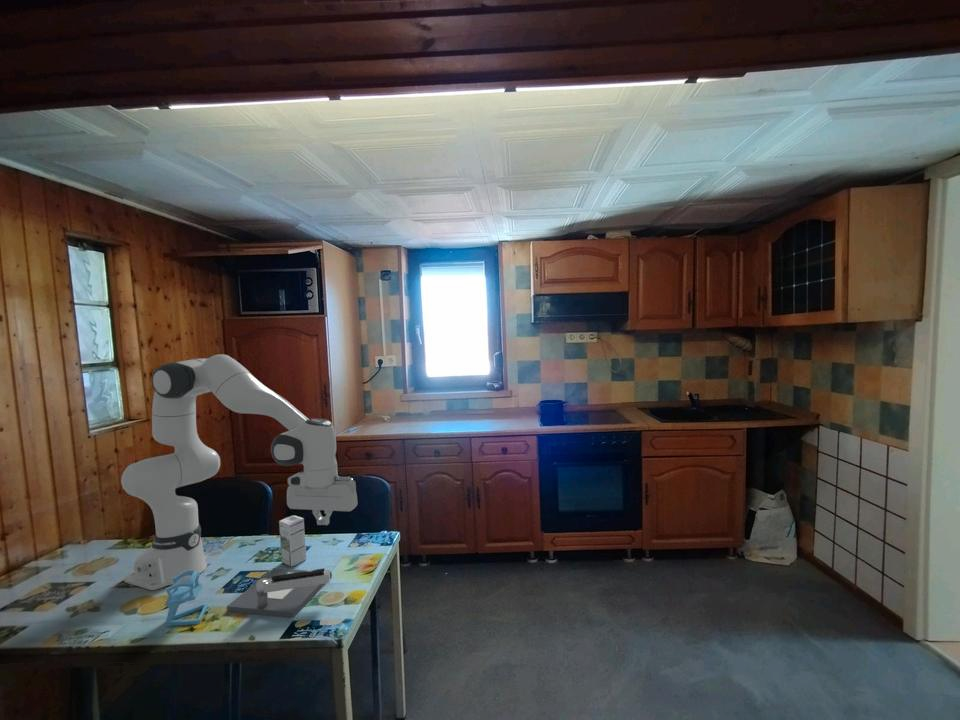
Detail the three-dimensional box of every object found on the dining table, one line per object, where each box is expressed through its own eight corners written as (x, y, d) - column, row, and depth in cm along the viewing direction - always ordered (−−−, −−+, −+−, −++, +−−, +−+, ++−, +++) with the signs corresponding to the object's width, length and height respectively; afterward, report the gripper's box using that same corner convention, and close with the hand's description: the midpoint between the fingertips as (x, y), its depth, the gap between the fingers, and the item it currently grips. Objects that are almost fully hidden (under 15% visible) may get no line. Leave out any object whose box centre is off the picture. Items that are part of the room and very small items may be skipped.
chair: (172, 614, 110) (169, 571, 109) (208, 606, 113) (205, 564, 112) (161, 632, 102) (158, 586, 102) (200, 623, 105) (196, 578, 105)
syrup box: (307, 559, 136) (304, 517, 135) (290, 568, 131) (288, 524, 130) (296, 555, 139) (294, 514, 139) (280, 563, 134) (278, 520, 134)
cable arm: (258, 589, 110) (257, 575, 110) (330, 578, 115) (329, 565, 114) (255, 595, 108) (254, 581, 107) (329, 584, 112) (328, 570, 112)
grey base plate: (227, 611, 110) (226, 593, 110) (274, 572, 128) (273, 557, 128) (293, 617, 106) (292, 599, 106) (331, 576, 125) (331, 561, 125)
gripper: (360, 473, 116) (362, 521, 116) (296, 471, 119) (298, 517, 120) (349, 480, 109) (351, 531, 110) (282, 478, 113) (284, 527, 113)
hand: (323, 524), depth 115 cm, fingers closed
